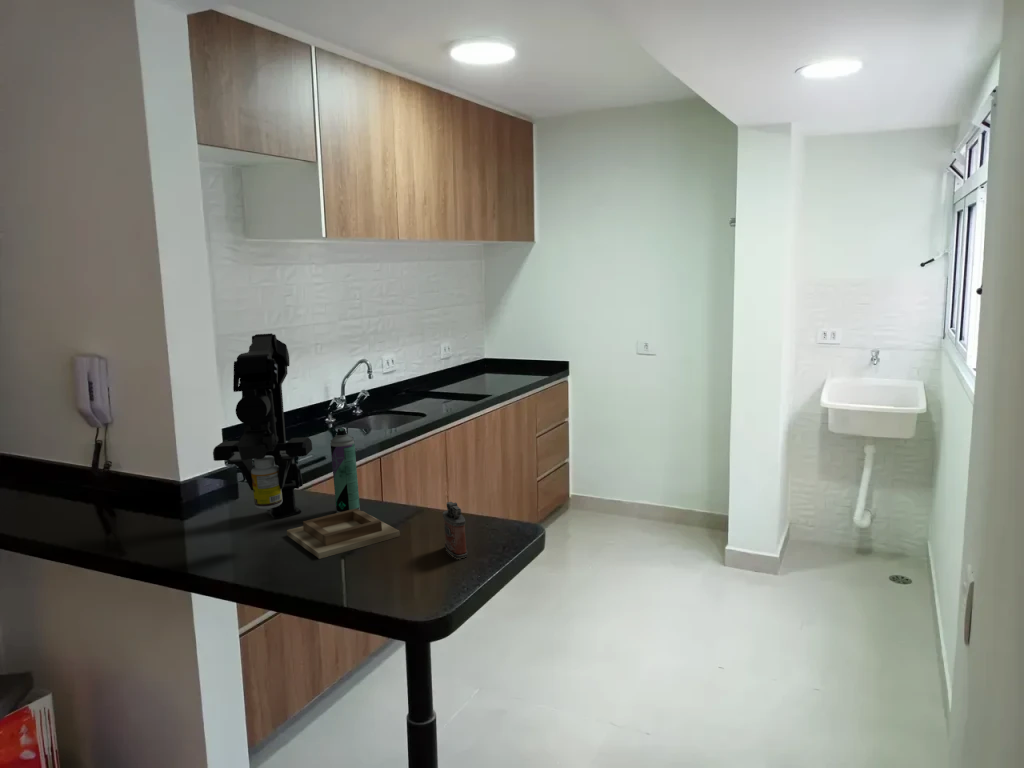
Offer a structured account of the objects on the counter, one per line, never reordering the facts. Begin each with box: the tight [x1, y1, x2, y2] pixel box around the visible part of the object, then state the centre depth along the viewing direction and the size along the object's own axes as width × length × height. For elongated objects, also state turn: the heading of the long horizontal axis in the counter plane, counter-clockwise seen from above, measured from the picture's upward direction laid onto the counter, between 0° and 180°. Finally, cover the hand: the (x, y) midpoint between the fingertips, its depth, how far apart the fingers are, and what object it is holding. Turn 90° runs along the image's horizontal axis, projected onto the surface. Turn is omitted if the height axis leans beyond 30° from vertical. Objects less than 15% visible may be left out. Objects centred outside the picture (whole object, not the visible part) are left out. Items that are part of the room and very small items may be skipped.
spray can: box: [330, 427, 361, 513], centre depth 176 cm, size 6×6×20 cm
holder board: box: [286, 509, 401, 560], centre depth 160 cm, size 18×18×3 cm
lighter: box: [442, 501, 468, 558], centre depth 148 cm, size 8×3×10 cm, turn 23°
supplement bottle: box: [251, 456, 283, 510], centre depth 154 cm, size 6×6×10 cm
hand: (267, 489), depth 155 cm, fingers closed on supplement bottle, 5 cm apart
